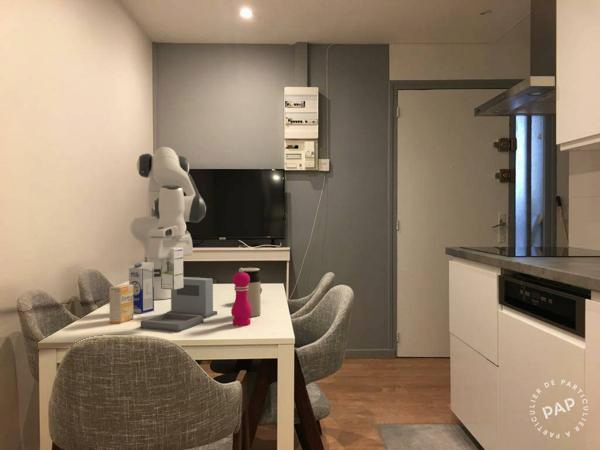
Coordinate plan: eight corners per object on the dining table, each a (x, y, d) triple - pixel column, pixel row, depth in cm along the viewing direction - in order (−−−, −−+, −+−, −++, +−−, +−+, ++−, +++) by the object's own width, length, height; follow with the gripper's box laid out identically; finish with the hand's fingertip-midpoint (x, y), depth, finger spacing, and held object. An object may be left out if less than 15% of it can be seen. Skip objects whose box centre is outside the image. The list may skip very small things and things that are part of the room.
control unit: (166, 315, 170) (166, 278, 170) (179, 311, 178) (179, 276, 178) (205, 318, 164) (205, 280, 164) (217, 314, 171) (217, 278, 171)
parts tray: (140, 327, 150) (140, 320, 150) (167, 319, 163) (167, 312, 163) (179, 332, 144) (179, 324, 144) (203, 322, 157) (203, 315, 157)
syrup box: (184, 287, 155) (184, 247, 155) (173, 290, 149) (173, 247, 150) (170, 287, 157) (170, 246, 157) (160, 289, 151) (160, 247, 151)
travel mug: (252, 318, 164) (251, 270, 163) (235, 316, 168) (235, 269, 168) (264, 314, 170) (264, 268, 170) (248, 312, 175) (248, 267, 174)
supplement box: (121, 323, 156) (120, 287, 156) (109, 323, 157) (108, 287, 157) (134, 318, 164) (133, 284, 164) (122, 318, 165) (122, 283, 165)
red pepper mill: (232, 321, 158) (231, 266, 158) (252, 321, 159) (251, 266, 158) (230, 326, 151) (230, 269, 151) (251, 326, 151) (251, 268, 151)
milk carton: (154, 310, 179) (154, 262, 179) (142, 313, 173) (141, 263, 173) (141, 309, 182) (140, 261, 182) (128, 312, 176) (128, 262, 176)
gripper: (182, 230, 164) (183, 266, 164) (144, 231, 145) (145, 273, 145) (196, 230, 162) (197, 267, 162) (160, 231, 143) (160, 273, 143)
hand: (172, 270), depth 153 cm, fingers closed on syrup box, 6 cm apart
